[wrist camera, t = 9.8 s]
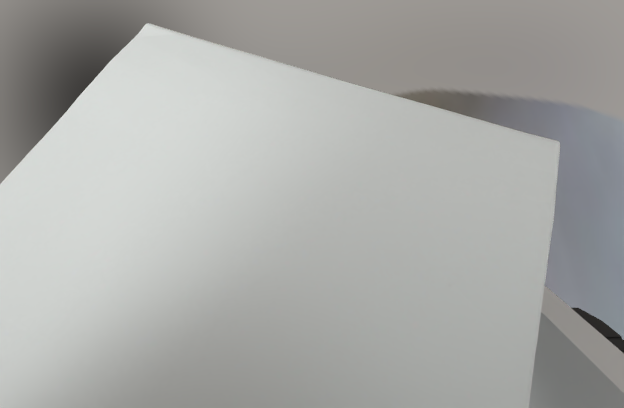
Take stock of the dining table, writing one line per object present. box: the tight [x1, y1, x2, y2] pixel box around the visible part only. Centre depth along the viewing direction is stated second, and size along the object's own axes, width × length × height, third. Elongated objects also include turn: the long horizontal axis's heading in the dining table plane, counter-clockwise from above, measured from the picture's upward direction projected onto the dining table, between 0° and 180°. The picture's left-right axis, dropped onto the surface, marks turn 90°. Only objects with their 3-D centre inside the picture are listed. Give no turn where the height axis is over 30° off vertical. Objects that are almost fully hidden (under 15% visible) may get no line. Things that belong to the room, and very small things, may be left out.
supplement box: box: [0, 24, 560, 408], centre depth 11 cm, size 9×9×15 cm
